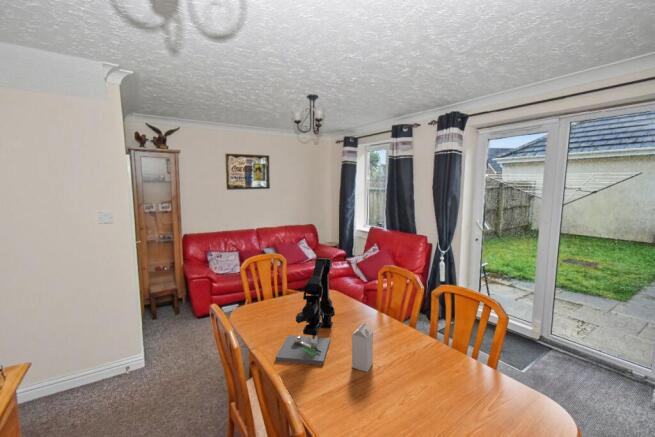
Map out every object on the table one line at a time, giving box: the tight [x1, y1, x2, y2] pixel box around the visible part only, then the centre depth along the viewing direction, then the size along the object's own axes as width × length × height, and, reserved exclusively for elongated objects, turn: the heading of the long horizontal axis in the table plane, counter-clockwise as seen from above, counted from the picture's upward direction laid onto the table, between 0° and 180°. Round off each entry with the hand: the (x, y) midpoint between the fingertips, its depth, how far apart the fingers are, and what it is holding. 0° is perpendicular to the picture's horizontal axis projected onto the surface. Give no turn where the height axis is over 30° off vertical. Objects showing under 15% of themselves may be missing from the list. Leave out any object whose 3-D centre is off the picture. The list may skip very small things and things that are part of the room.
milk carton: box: [351, 321, 374, 373], centre depth 130 cm, size 7×7×19 cm
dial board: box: [274, 335, 331, 366], centre depth 144 cm, size 20×22×2 cm
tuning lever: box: [293, 334, 321, 353], centre depth 142 cm, size 17×4×7 cm, turn 50°
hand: (314, 338), depth 143 cm, fingers closed
